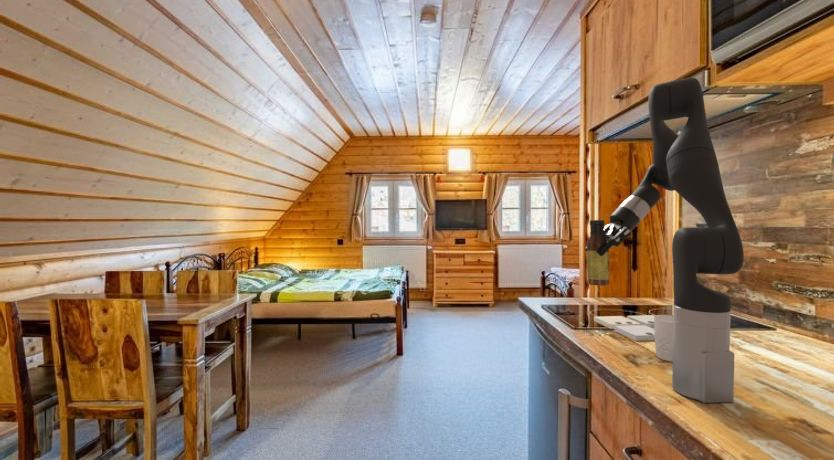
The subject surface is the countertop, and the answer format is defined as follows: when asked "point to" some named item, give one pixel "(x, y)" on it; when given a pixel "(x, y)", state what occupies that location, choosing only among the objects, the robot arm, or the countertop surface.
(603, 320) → the tile two
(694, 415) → the countertop surface
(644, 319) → the tile three
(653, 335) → the tile one
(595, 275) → the sauce bottle
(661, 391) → the countertop surface
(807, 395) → the countertop surface
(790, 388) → the countertop surface
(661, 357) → the white cup
